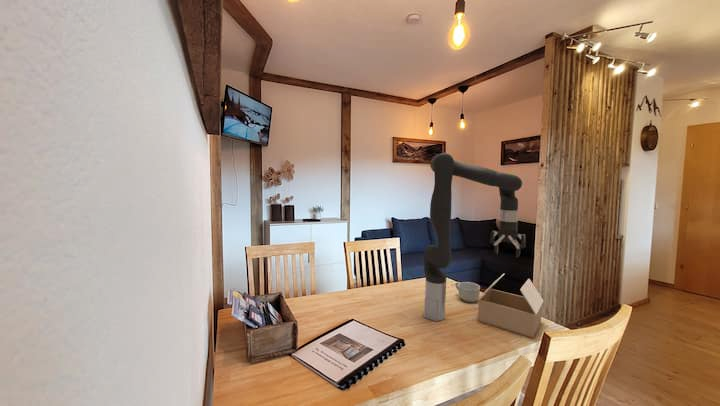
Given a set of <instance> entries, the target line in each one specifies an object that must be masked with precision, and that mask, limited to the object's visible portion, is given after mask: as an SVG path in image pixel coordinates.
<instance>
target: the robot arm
mask: <svg viewBox="0 0 720 406" xmlns="http://www.w3.org/2000/svg"><path fill="white" fill-rule="evenodd" d="M429 165H430V169H431V171H432V172H433V173H434V174H433V175H434V187H433V192H432V195H431V199H430V206H429V219H430V222H431V225H432V226H433V229H434V232H435V233H436V237H437V245H435V244H430V245H428V246H427V247H426V248H425V250H424V253H423V254H424V255H423V269H424V271H423V273H424V275H425V287H424V288H425V292H424V307H423V309H424V310H423V311H424V312H423V314H424V315H423V317H424V318H426V319H428V320H431V321H433V322H438V321H443V320H444V319H446V294H447V293H446V292H447V275H446V274H445V272H443V271H442V270H441V269H447V268H448V267H449V266H450V264H451V260H452V241H451V222H452V184H453V183H452V182H453V178H454V177H453V176H455V177H459V178H463V179H466V180H469V181H473V182H475V183H480V184H482V185H486V186H489V187H495V188H498V191H499V198H500V205H499V206H500V207H499V214H498V215H499V218H498V231H496V230H492V231H490V238H489V244H491V245H493V252H494V253H495V254H496V255H497V254H498V253H499V244H500V243H502V242H503V243H509V244H510V243H512V244H513V245H514V246H515V257H516V258H518V257H520V255H521V249H524V248H526V234H525V233H523V234H520V233H519V232H518V227H519V226H518V224H519V223H518V222H519V211H518V209H519V199H518V198H517V197H516V192H517V191H518V190H520V189H521V188H522V187H523V181H522V179H521V178H520V177H519V176H517V175H515V174H511V173H505V172H499V171H497V170H493V169H490V168H487V167H484V166H478V165H472V164H467V163H462V162H459V161H456V160H454V157H453V156H452V155H451V154H449V153H446V152H441V153H438V154H436V155H435V156H433V157H432V159H431V160H430V164H429ZM496 236H497V237H498V239H497V240H496V241H495V238H496ZM517 238H519V240H520V243H519V242H518V240H517Z"/></svg>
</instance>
